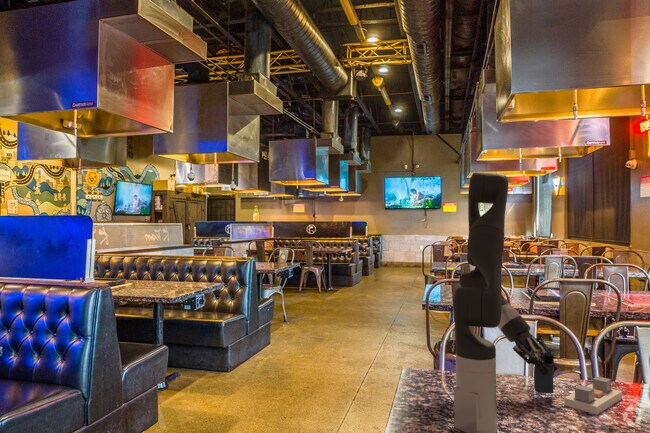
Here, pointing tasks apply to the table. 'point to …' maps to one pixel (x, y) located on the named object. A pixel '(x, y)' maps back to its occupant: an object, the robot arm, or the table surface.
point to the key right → (602, 384)
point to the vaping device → (545, 382)
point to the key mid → (598, 393)
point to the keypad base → (594, 401)
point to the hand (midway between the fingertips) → (551, 372)
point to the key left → (584, 393)
